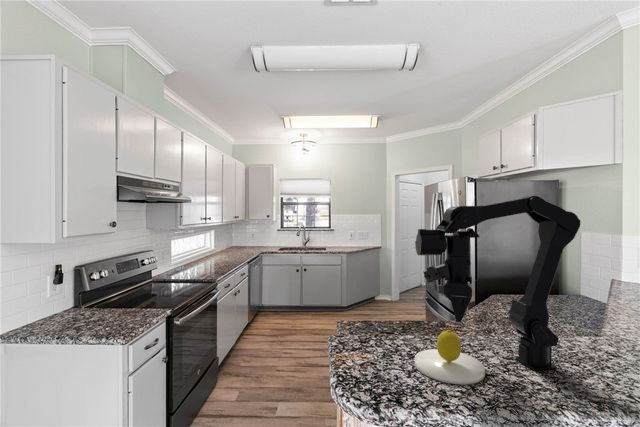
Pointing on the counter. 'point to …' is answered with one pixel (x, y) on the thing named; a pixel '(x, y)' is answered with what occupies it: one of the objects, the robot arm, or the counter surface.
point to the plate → (449, 368)
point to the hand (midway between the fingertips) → (459, 316)
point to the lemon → (448, 346)
